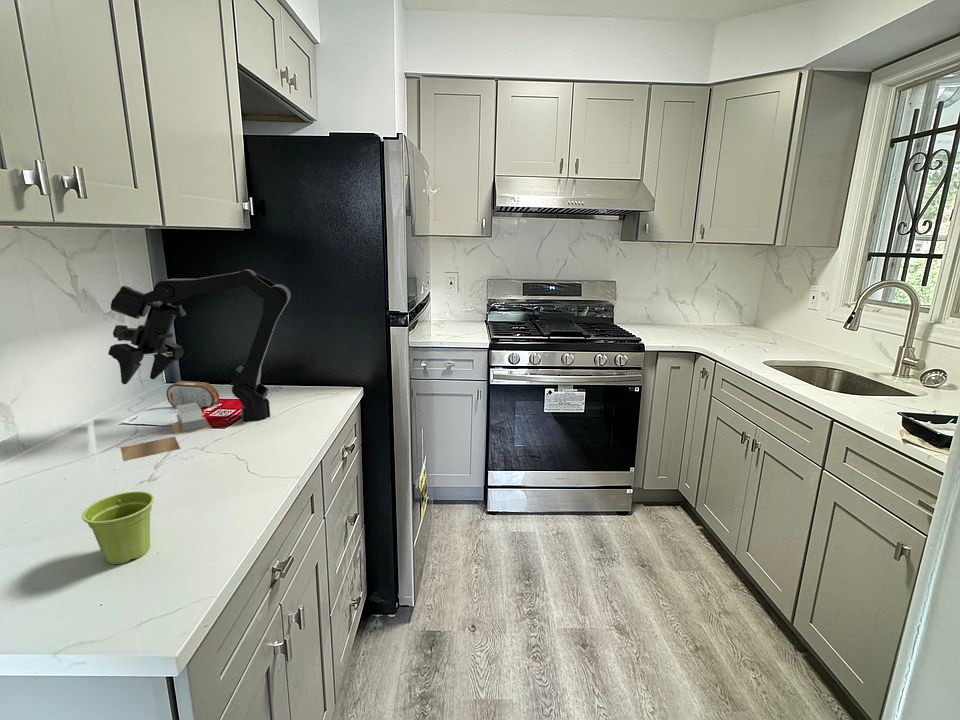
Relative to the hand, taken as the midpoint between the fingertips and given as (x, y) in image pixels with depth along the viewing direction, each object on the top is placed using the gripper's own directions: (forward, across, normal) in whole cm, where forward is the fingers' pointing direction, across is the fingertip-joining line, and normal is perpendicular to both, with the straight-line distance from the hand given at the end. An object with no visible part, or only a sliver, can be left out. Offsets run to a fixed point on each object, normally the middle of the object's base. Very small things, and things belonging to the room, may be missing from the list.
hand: (138, 381), depth 127 cm
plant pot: (+6, +45, +41) cm, 62 cm away
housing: (+6, -3, +16) cm, 17 cm away
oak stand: (+8, -3, +16) cm, 18 cm away
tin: (+10, -18, +6) cm, 22 cm away
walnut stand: (+10, +11, +17) cm, 22 cm away
